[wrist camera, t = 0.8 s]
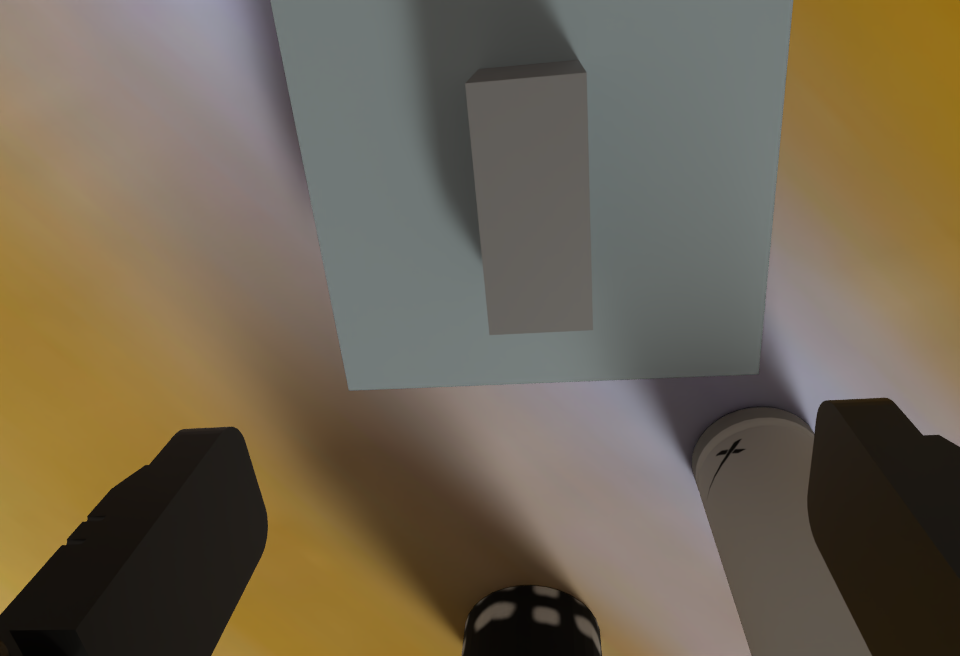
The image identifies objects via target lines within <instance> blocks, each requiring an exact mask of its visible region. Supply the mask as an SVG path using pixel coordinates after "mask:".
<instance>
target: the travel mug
mask: <svg viewBox="0 0 960 656" xmlns="http://www.w3.org/2000/svg"><path fill="white" fill-rule="evenodd" d="M813 443H814V432H813V431H812V430H811V428H810V427H809V425H808V424H806V423H805V422H804V421H803V420H802V419H801V418H799V417H797V416H796V415H794V414H792V413H790V412H787V411H784V410H781V409H776V408H768V407H753V408H747V409H742V410H738V411H736V412H733V413H730V414H728V415H726V416H724V417H722V418H720V419H719V420H717V421H716V422H715V423H713V424H712V425H711V426H710V427H708V428H707V430H706V431H705V432H704V433H703V434H702V435H701V437H700V438H699V440H698V442H697V444H696V445H695V448H694V452H693V455H692V469H693V474H694V478H695V481H696V484H697V487H698V490H699V492H700V496H701V499H702V502H703V506H704V509H705V512H706V515H707V518H708V521H709V524H710V527H711V530H712V534H713V537H714V540H715V543H716V546H717V549H718V552H719V555H720V558H721V562H722V565H723V568H724V571H725V574H726V577H727V580H728V583H729V586H730V590H731V593H732V596H733V599H734V602H735V605H736V608H737V611H738V614H739V618H740V621H741V624H742V627H743V630H744V633H745V636H746V639H747V642H748V646H749V649H750V652H751V655H752V656H872V655H871V653H870V651H869V649H868V647H867V645H866V643H865V641H864V639H863V637H862V635H861V633H860V631H859V629H858V627H857V625H856V623H855V621H854V619H853V617H852V615H851V613H850V611H849V609H848V607H847V605H846V603H845V601H844V599H843V597H842V595H841V593H840V591H839V589H838V587H837V585H836V583H835V581H834V579H833V577H832V575H831V573H830V571H829V569H828V567H827V565H826V563H825V561H824V559H823V557H822V555H821V553H820V551H819V549H818V547H817V545H816V543H815V540H814V538H813V535H812V531H811V527H810V523H809V517H808V509H807V494H808V485H809V476H810V468H811V460H812V451H813Z"/></svg>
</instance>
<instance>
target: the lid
mask: <svg viewBox="0 0 960 656" xmlns="http://www.w3.org/2000/svg"><path fill="white" fill-rule="evenodd" d="M270 2H271V7H272V12H273V17H274V22H275V27H276V32H277V37H278V42H279V47H280V52H281V57H282V62H283V66H284V71H285V76H286V81H287V86H288V91H289V96H290V101H291V106H292V111H293V116H294V121H295V126H296V131H297V136H298V141H299V146H300V151H301V156H302V161H303V166H304V171H305V175H306V180H307V185H308V190H309V195H310V200H311V205H312V210H313V215H314V220H315V225H316V230H317V235H318V240H319V245H320V250H321V255H322V260H323V265H324V270H325V275H326V280H327V284H328V289H329V294H330V299H331V304H332V309H333V314H334V319H335V324H336V329H337V334H338V339H339V344H340V349H341V354H342V359H343V364H344V369H345V374H346V379H347V384H348V389H349V391H352V390H377V389H402V388H428V387H453V386H478V385H503V384H528V383H554V382H579V381H604V380H629V379H654V378H680V377H705V376H730V375H755V374H759V364H760V353H761V342H762V331H763V320H764V310H765V299H766V288H767V277H768V266H769V256H770V245H771V234H772V223H773V212H774V201H775V191H776V180H777V169H778V158H779V147H780V137H781V126H782V115H783V104H784V93H785V82H786V72H787V61H788V50H789V39H790V28H791V18H792V7H793V0H270Z"/></svg>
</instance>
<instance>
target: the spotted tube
mask: <svg viewBox="0 0 960 656" xmlns="http://www.w3.org/2000/svg"><path fill="white" fill-rule="evenodd" d="M462 656H602V651H601V640H600V629H599V626H598V624H597V621H596V619H595V617H594V616H593V614H592V613H591V611H590V610H589V609H588V608H587V607H586V606H585V605H584V604H583V603H581V602H580V601H578V600H577V599H575V598H574V597H572V596H570V595H568V594H566V593H564V592H561V591H559V590H555V589H551V588H548V587H541V586H516V587H510V588H505V589H502V590H499V591H496V592H494V593H492V594H490V595H488V596H487V597H485V598H483V599H482V600H481V601H480V602H479V603H477V604H476V605H475V606H474V608H473V609H472V610H471V612H470V613H469V615H468V618H467V621H466V624H465V632H464V640H463V649H462Z"/></svg>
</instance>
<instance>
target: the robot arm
mask: <svg viewBox="0 0 960 656" xmlns="http://www.w3.org/2000/svg"><path fill="white" fill-rule="evenodd" d="M807 509H808V517H809V523H810V527H811V531H812V535H813V538H814V540H815V543H816V545H817V547H818V549H819V551H820V553H821V555H822V557H823V559H824V561H825V563H826V565H827V567H828V569H829V571H830V573H831V575H832V577H833V579H834V581H835V583H836V585H837V587H838V589H839V591H840V593H841V595H842V597H843V599H844V601H845V603H846V605H847V607H848V609H849V611H850V613H851V615H852V617H853V619H854V621H855V623H856V625H857V627H858V629H859V631H860V633H861V635H862V637H863V639H864V641H865V643H866V645H867V647H868V649H869V651H870V653H871V655H872V656H960V447H959V446H957V445H955V444H954V443H952V442H950V441H948V440H947V439H945V438H943V437H942V436H940V435H924V436H923V435H922V434H921V433H920V431H919V430H918V429H917V428H916V427H915V426H914V425H913V423H912V422H911V421H910V420H909V419H908V418H907V417H906V415H905V414H904V413H903V412H902V411H901V410H900V409H899V407H898V406H897V405H896V404H895V403H894V402H893V401H892V400H890V399H888V398H870V399H849V400H828V401H824V402H822V403H821V405H820V407H819V409H818V413H817V418H816V426H815V434H814V443H813V451H812V460H811V468H810V476H809V485H808V494H807ZM87 517H88V520H87V522H82V523H81V524H80V525H79V526H78V527H77V529H76V530H75V531H74V532H73V533H72V534H71V535H70V536H69V538H68V539H67V545H62V546H61V547H60V548H59V549H58V550H57V551H56V552H55V553H54V555H53V556H52V557H51V558H50V559H49V560H48V561H47V563H46V564H45V565H44V566H43V567H42V568H41V569H40V570H39V572H38V573H37V574H36V575H35V576H34V577H33V578H32V580H31V581H30V582H29V583H28V584H27V585H26V586H25V587H24V589H23V590H22V591H21V592H20V593H19V594H18V595H17V597H16V598H15V599H14V600H13V601H12V602H11V603H10V604H9V606H8V607H7V608H6V609H5V610H4V611H3V612H2V614H1V615H0V656H211V655H212V653H213V651H214V649H215V647H216V645H217V643H218V641H219V639H220V637H221V635H222V633H223V631H224V629H225V627H226V625H227V623H228V621H229V619H230V617H231V615H232V613H233V611H234V609H235V607H236V605H237V603H238V601H239V600H240V598H241V596H242V594H243V592H244V590H245V588H246V586H247V584H248V582H249V580H250V578H251V576H252V574H253V572H254V570H255V568H256V566H257V564H258V562H259V560H260V558H261V556H262V554H263V551H264V548H265V544H266V539H267V531H268V521H267V512H266V508H265V505H264V502H263V498H262V495H261V492H260V489H259V485H258V482H257V479H256V476H255V472H254V469H253V466H252V462H251V459H250V456H249V453H248V449H247V446H246V443H245V440H244V437H243V435H242V434H241V432H240V431H239V430H238V429H237V428H235V427H218V428H196V429H183V430H180V431H179V432H177V433H176V434H175V435H174V436H173V437H172V439H171V440H170V441H169V442H168V443H167V444H166V446H165V447H164V448H163V449H162V450H161V452H160V453H159V454H158V455H157V456H156V457H155V459H154V460H153V461H152V462H151V463H150V465H145V466H144V467H142V468H141V469H139V470H138V471H136V472H135V473H134V474H132V475H131V476H129V477H128V478H126V479H125V480H124V481H122V482H121V483H119V484H118V485H116V486H115V487H114V488H112V489H111V490H110V491H109V492H108V493H107V495H106V496H105V497H104V498H103V499H102V500H101V501H100V503H99V504H98V505H97V506H96V507H95V508H94V509H93V510H92V512H91V513H90V514H89V515H88V516H87Z"/></svg>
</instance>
